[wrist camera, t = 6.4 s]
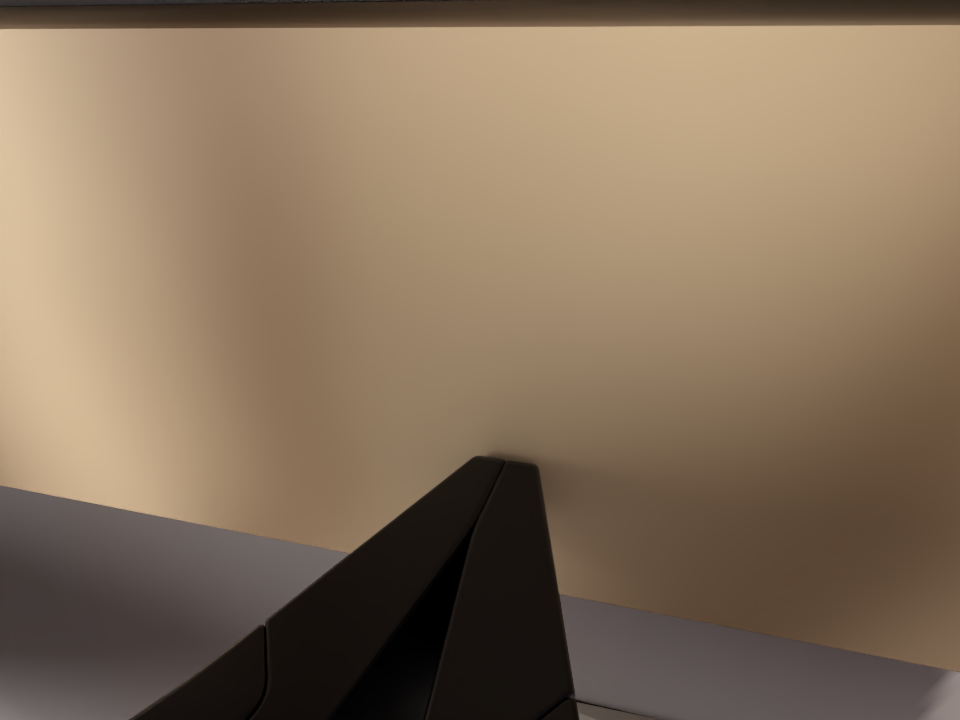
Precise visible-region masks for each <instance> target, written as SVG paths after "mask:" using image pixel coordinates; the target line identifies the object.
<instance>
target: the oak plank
mask: <svg viewBox="0 0 960 720" xmlns="http://www.w3.org/2000/svg"><path fill="white" fill-rule="evenodd" d="M475 456H487V457H493V458H500V459H504V460H505V461H506V462H507V461H509V460H513V461H519V462H525V463H532V464H536V465H537V466H538V468H539V471H540V477H541V483H542V490H543V496H544V502H545V508H546V515H547V521H548V527H549V534H550V540H551V546H552V552H553V559H554V565H555V571H556V577H557V584H558V590H559V594H561V595H566V596H571V597H576V598H582V599H587V600H592V601H597V602H602V603H607V604H612V605H618V606H623V607H628V608H633V609H638V610H643V611H648V612H653V613H659V614H664V615H669V616H674V617H679V618H684V619H689V620H695V621H700V622H705V623H710V624H715V625H720V626H725V627H730V628H736V629H741V630H746V631H751V632H756V633H761V634H766V635H772V636H777V637H782V638H787V639H792V640H797V641H802V642H808V643H813V644H818V645H823V646H828V647H833V648H838V649H843V650H849V651H854V652H859V653H864V654H869V655H874V656H879V657H885V658H890V659H895V660H900V661H905V662H910V663H915V664H920V665H926V666H931V667H936V668H941V669H946V670H951V671H956V672H960V0H477V1H405V2H332V3H260V4H187V5H115V6H43V7H0V485H1V486H7V487H12V488H17V489H22V490H27V491H32V492H37V493H43V494H48V495H53V496H58V497H63V498H68V499H73V500H78V501H84V502H89V503H94V504H99V505H104V506H109V507H114V508H120V509H125V510H130V511H135V512H140V513H145V514H150V515H155V516H161V517H166V518H171V519H176V520H181V521H186V522H191V523H197V524H202V525H207V526H212V527H217V528H222V529H227V530H232V531H238V532H243V533H248V534H253V535H258V536H263V537H268V538H274V539H279V540H284V541H289V542H294V543H299V544H304V545H309V546H315V547H320V548H325V549H330V550H335V551H340V552H345V553H352V552H353V551H354V550H355V549H357V548H358V547H359V546H360V545H362V544H363V543H364V542H366V541H367V540H368V539H369V538H371V537H372V536H373V535H374V534H376V533H377V532H378V531H379V530H381V529H382V528H383V527H385V526H386V525H387V524H388V523H390V522H391V521H392V520H393V519H395V518H396V517H397V516H399V515H400V514H401V513H402V512H404V511H405V510H406V509H407V508H409V507H410V506H411V505H412V504H414V503H415V502H416V501H418V500H419V499H420V498H421V497H423V496H424V495H425V494H426V493H428V492H429V491H430V490H432V489H433V488H434V487H435V486H437V485H438V484H439V483H440V482H442V481H443V480H444V479H446V478H447V477H448V476H449V475H451V474H452V473H453V472H454V471H456V470H457V469H458V468H459V467H461V466H462V465H463V464H465V463H466V462H467V461H468V460H470V459H471V458H472V457H475Z"/></svg>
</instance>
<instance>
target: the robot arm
mask: <svg viewBox="0 0 960 720" xmlns="http://www.w3.org/2000/svg"><path fill="white" fill-rule="evenodd" d="M129 720H580V719H579V713H578V707H577V702H576V700H575V690H574V684H573V678H572V671H571V665H570V659H569V653H568V646H567V640H566V634H565V628H564V621H563V615H562V609H561V603H560V596H559V590H558V584H557V577H556V571H555V565H554V559H553V552H552V546H551V540H550V534H549V527H548V521H547V515H546V508H545V502H544V496H543V490H542V483H541V477H540V471H539V468H538V466H537V465H536V464H532V463H525V462H519V461H513V460H509V461H507V462H506V461H505V460H504V459H500V458H493V457H487V456H475V457H472V458H471V459H470V460H468V461H467V462H466V463H465V464H463V465H462V466H461V467H459V468H458V469H457V470H456V471H454V472H453V473H452V474H451V475H449V476H448V477H447V478H446V479H444V480H443V481H442V482H440V483H439V484H438V485H437V486H435V487H434V488H433V489H432V490H430V491H429V492H428V493H426V494H425V495H424V496H423V497H421V498H420V499H419V500H418V501H416V502H415V503H414V504H412V505H411V506H410V507H409V508H407V509H406V510H405V511H404V512H402V513H401V514H400V515H399V516H397V517H396V518H395V519H393V520H392V521H391V522H390V523H388V524H387V525H386V526H385V527H383V528H382V529H381V530H379V531H378V532H377V533H376V534H374V535H373V536H372V537H371V538H369V539H368V540H367V541H366V542H364V543H363V544H362V545H360V546H359V547H358V548H357V549H355V550H354V551H353V552H352V553H350V554H349V555H348V556H346V557H345V558H344V559H343V560H341V561H340V562H339V563H338V564H336V565H335V566H334V567H333V568H331V569H330V570H329V571H327V572H326V573H325V574H324V575H322V576H321V577H320V578H319V579H317V580H316V581H315V582H313V583H312V584H311V585H310V586H308V587H307V588H306V589H305V590H303V591H302V592H301V593H300V594H298V595H297V596H296V597H294V598H293V599H292V600H291V601H289V602H288V603H287V604H286V605H284V606H283V607H282V608H280V609H279V610H278V611H277V612H275V613H274V614H273V615H272V616H270V617H269V618H268V619H267V620H266V621H265V626H264V625H259V626H257V627H256V628H255V629H253V630H252V631H251V632H250V633H248V634H247V635H246V636H244V637H243V638H242V639H241V640H239V641H238V642H237V643H236V644H234V645H233V646H232V647H230V648H229V649H228V650H226V651H225V652H224V653H222V654H221V655H220V656H218V657H217V658H216V659H214V660H213V661H212V662H210V663H209V664H208V665H206V666H205V667H204V668H202V669H201V670H200V671H198V672H197V673H196V674H194V675H193V676H192V677H190V678H189V679H188V680H186V681H185V682H183V683H182V684H180V685H179V686H178V687H176V688H175V689H173V690H172V691H170V692H169V693H167V694H166V695H164V696H163V697H161V698H160V699H159V700H157V701H156V702H154V703H153V704H151V705H150V706H148V707H147V708H145V709H144V710H143V711H141V712H140V713H138V714H137V715H135V716H134V717H132V718H131V719H129Z"/></svg>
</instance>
